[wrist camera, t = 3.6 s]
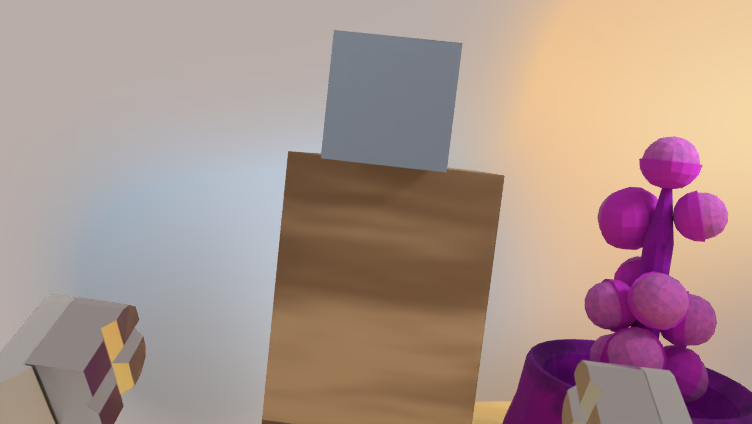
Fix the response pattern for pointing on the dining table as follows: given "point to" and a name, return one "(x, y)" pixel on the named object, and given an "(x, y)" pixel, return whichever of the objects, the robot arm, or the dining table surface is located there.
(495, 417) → the dining table surface
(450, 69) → the beam
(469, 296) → the tower
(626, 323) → the decorative plant
